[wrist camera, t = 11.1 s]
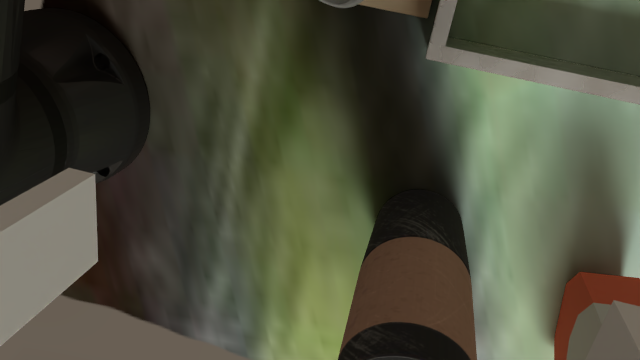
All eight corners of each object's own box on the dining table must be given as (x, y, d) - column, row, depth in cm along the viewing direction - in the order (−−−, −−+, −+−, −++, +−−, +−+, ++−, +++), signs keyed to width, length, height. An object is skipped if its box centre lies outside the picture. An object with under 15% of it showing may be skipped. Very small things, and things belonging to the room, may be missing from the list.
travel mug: (356, 235, 45) (299, 417, 27) (406, 168, 42) (379, 325, 24) (430, 282, 45) (422, 494, 27) (485, 219, 42) (518, 412, 24)
